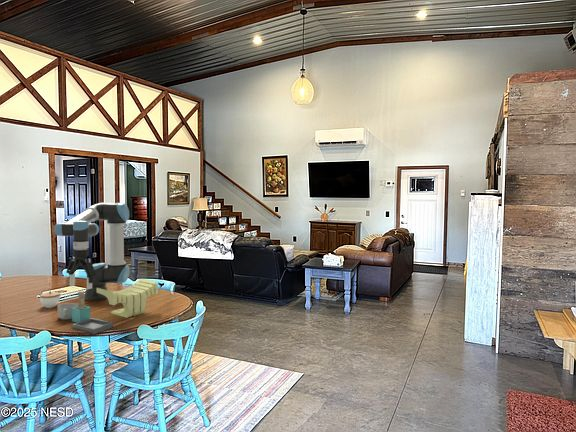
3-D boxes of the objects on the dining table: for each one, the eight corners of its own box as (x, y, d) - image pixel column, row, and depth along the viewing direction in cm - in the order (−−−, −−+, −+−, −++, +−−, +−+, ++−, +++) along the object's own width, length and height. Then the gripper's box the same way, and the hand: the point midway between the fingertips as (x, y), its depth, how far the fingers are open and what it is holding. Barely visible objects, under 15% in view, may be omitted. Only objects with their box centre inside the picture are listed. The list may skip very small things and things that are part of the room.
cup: (72, 322, 215) (71, 308, 214) (82, 319, 221) (82, 305, 220) (80, 324, 212) (80, 309, 212) (90, 321, 218) (90, 306, 218)
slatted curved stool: (114, 323, 215) (114, 291, 214) (96, 318, 223) (96, 287, 222) (157, 310, 240) (158, 282, 239) (140, 306, 248) (140, 278, 247)
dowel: (76, 320, 216) (76, 292, 215) (81, 319, 218) (81, 291, 217) (80, 321, 214) (80, 292, 213) (85, 320, 217) (85, 291, 216)
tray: (72, 329, 205) (72, 324, 205) (92, 322, 216) (92, 317, 216) (93, 334, 198) (93, 329, 198) (113, 327, 209) (113, 322, 209)
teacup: (63, 315, 226) (63, 302, 226) (82, 315, 227) (82, 302, 226) (50, 323, 212) (50, 309, 212) (71, 323, 213) (71, 309, 213)
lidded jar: (64, 305, 247) (64, 290, 246) (48, 309, 237) (48, 294, 236) (51, 303, 250) (51, 288, 250) (35, 307, 240) (35, 292, 240)
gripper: (59, 248, 216) (59, 286, 217) (90, 251, 206) (90, 291, 206) (71, 246, 223) (71, 283, 223) (102, 250, 212) (102, 288, 213)
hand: (80, 287), depth 215 cm, fingers open, 13 cm apart
